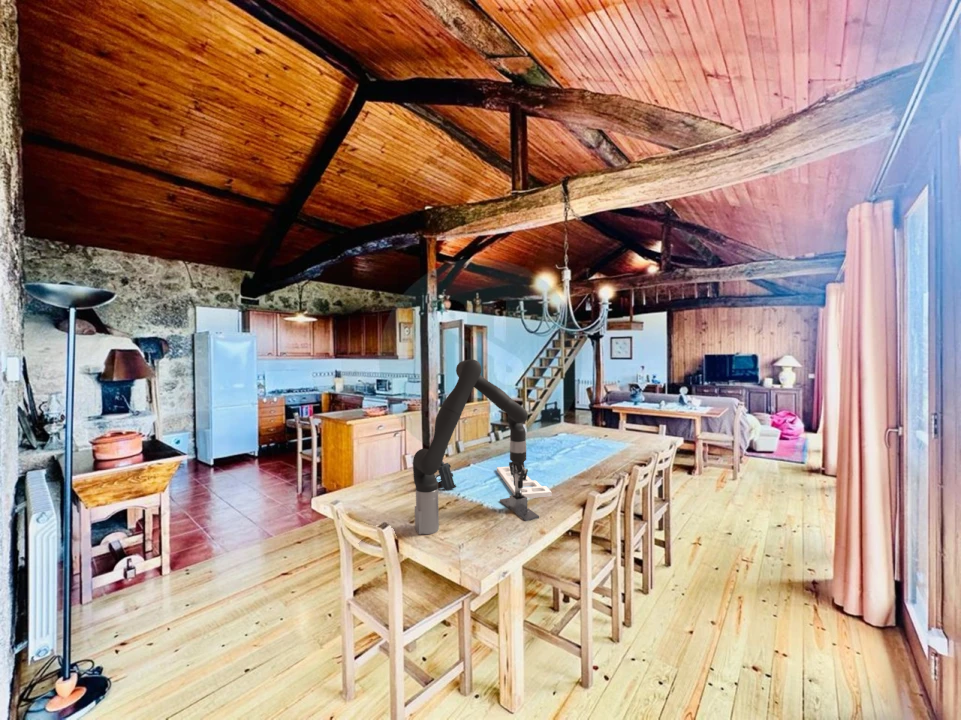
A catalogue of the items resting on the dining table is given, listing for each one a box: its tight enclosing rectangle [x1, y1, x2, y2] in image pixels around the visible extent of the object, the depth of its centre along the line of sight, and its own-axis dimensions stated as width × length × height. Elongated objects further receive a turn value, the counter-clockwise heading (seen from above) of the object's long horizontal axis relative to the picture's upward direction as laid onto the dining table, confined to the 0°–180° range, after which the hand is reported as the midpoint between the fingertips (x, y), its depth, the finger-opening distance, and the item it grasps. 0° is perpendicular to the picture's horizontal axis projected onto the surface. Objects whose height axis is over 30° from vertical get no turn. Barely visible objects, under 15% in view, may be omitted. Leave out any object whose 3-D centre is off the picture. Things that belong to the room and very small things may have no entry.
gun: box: [435, 460, 457, 492], centre depth 213 cm, size 3×17×15 cm
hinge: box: [499, 494, 540, 522], centre depth 188 cm, size 7×24×6 cm, turn 25°
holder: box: [496, 465, 552, 499], centre depth 224 cm, size 45×18×3 cm, turn 11°
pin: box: [515, 472, 522, 498], centre depth 188 cm, size 3×3×11 cm
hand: (518, 486), depth 188 cm, fingers closed on pin, 3 cm apart
